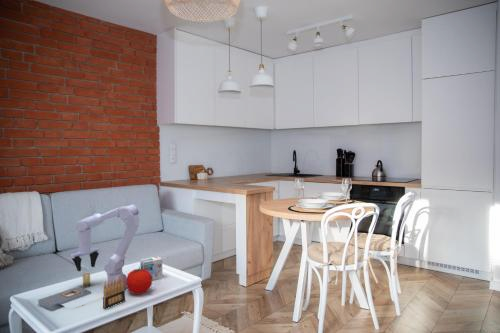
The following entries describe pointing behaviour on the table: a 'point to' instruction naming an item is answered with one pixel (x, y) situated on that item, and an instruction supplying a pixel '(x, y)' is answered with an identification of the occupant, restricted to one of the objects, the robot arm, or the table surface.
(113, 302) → the ammunition clip
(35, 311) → the table surface
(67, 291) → the plate
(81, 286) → the gray square block
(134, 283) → the tomato
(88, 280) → the brass peg
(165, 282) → the table surface
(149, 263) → the light bulb box
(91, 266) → the robot arm
